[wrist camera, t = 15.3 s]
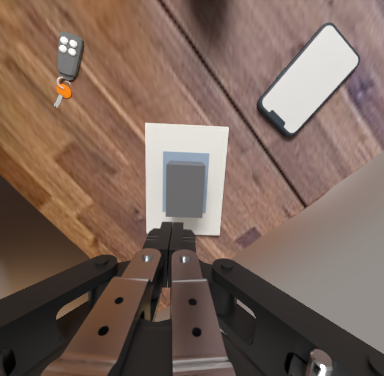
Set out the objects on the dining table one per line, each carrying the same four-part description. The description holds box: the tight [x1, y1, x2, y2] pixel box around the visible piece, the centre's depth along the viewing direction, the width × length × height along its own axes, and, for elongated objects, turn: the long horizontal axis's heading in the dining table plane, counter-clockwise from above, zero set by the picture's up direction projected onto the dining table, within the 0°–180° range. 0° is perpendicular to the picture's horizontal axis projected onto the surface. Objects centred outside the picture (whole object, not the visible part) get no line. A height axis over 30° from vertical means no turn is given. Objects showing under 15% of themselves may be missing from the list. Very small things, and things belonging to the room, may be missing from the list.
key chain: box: [54, 31, 84, 107], centre depth 30 cm, size 13×4×2 cm, turn 162°
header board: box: [145, 123, 229, 235], centre depth 32 cm, size 14×20×4 cm
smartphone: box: [257, 23, 360, 136], centre depth 31 cm, size 9×2×16 cm
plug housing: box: [166, 161, 206, 218], centre depth 30 cm, size 6×8×6 cm
